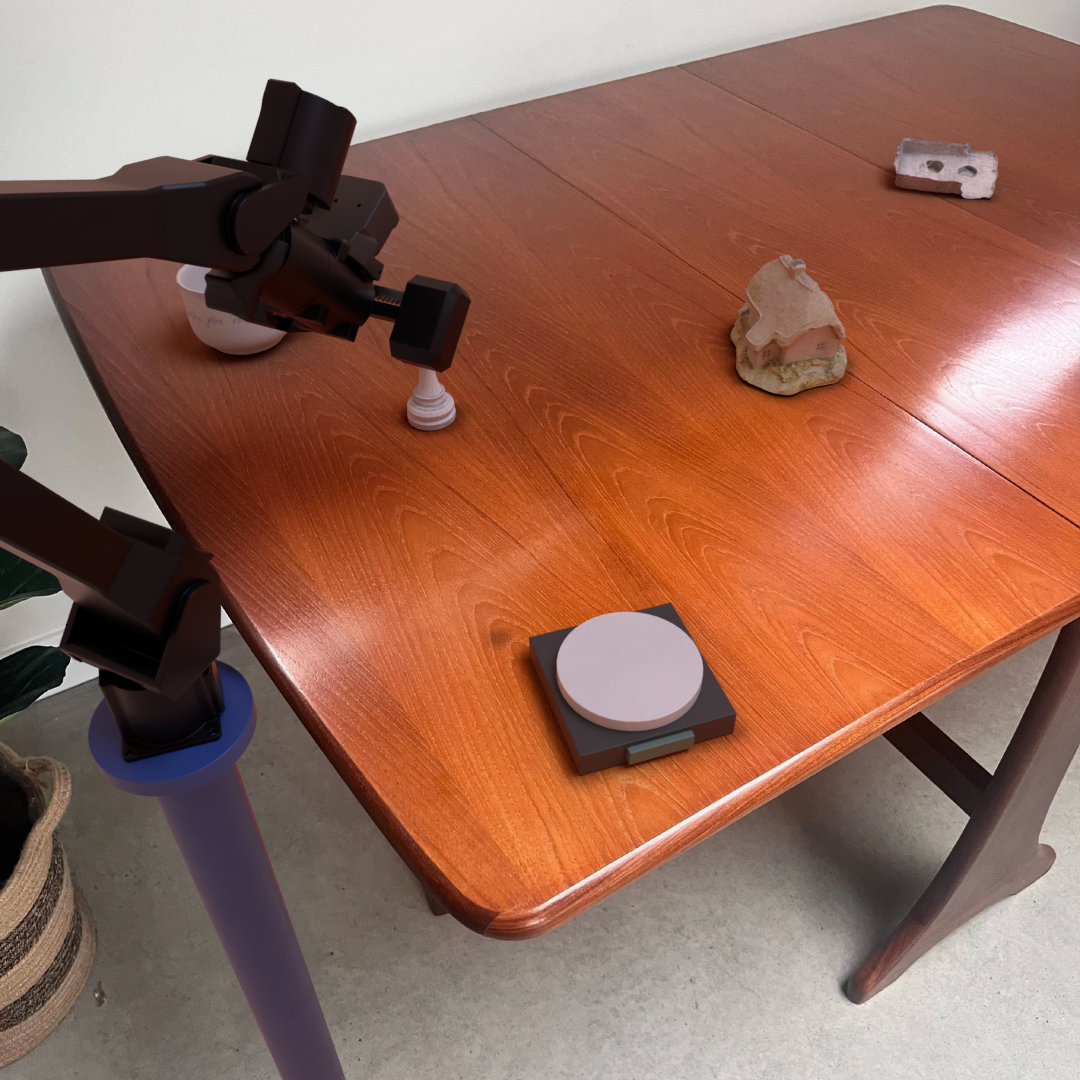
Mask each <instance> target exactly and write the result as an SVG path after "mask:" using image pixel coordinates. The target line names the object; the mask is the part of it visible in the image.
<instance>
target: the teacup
mask: <svg viewBox="0 0 1080 1080" xmlns="http://www.w3.org/2000/svg"><path fill="white" fill-rule="evenodd" d="M210 270H211V268H205V267H199V266H193V265H188V264H183V266H182V267H181V268H179V269H178V270H177V273H176V276H175V282H176V285H177V286H178V287H179V290H180V295H181V299H182V302H183V305H184V309H185V312H186V316H187V319H188V321H189V324H190V327H191V329H192V331H193V333H194V334H195V336H196V337H197V338H198V339H199V340H200V341H201V342H203V344H204V345H207V346H209V347H211V348H214V349H216V350H218V351H220V352H222V353H224V354H228V355H252V354H258V353H260V352H263V351H267V350H269V349H271V348H272V347H273V348H274V346H276V345H277V344H279V342H280V341H282V339H283V338H284V337H285V336H286V335H287V333H288V332H284V331H280V330H276V329H272V328H268V327H264V326H260V325H257V324H253V323H249V322H246V321H244V320H242V319H240V318H238V317H236V316H234V315H233V314H229V313H225V312H221V311H217V310H214V309H210V308H208V307H207V306H206V304H205V297H204V291H205V288H206V282H205V279H204V276H205V274H206V273H208V272H210Z"/></svg>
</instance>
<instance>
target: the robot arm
mask: <svg viewBox="0 0 1080 1080" xmlns="http://www.w3.org/2000/svg"><path fill="white" fill-rule="evenodd" d="M357 123H358V120H357V117H356V116H355V115H354V114H353V113H352V112H351V110H349V109H348V108H347V107H346V106H342V105H337V104H336V103H333V102H332V101H330V100H328V99H326V98H324V97H322V96H320V95H318V94H314V93H312V92H309V91H307V90H303V88H302V87H300V86H299V85H298V84H297V83H296V82H295V81H290V80H284V79H283V80H282V79H276V78H269V79H267V80H266V84H265V88H264V91H263V95H262V98H261V105H260V111H259V114H258V118H257V121H256V124H255V128H254V131H253V134H252V136H251V140H250V143H249V147H248V150H247V153H246V156H245V160H244V159H243V160H242V159H238V158H232V157H227V156H222V155H218V154H211V153H209V154H206V155H203V156H200V157H197V158H194V159H191V160H190V159H185V158H180V157H176V156H171V155H159V156H156V157H152V158H148V159H143V160H140V161H135V162H132V163H127V164H123V165H122V166H121V167H120V168H119V169H118V170H117V171H116V172H114V173H113V174H111V175H107V176H104V177H99V178H95V179H92V178H90V179H17V180H16V179H13V180H12V179H11V180H10V179H9V180H8V179H7V180H6V179H5V180H4V179H3V180H0V273H5V272H6V273H7V272H14V271H16V272H17V271H26V270H36V269H46V268H56V267H57V268H58V267H65V266H66V267H67V266H75V265H77V266H78V265H87V264H97V263H107V262H115V261H126V260H127V261H128V260H136V259H153V260H159V261H160V260H161V261H166V262H172V263H177V264H182V265H185V264H188V265H193V266H199V267H205V268H211V270H210V272H208V273H206V274H205V276H204V279H205V282H206V288H205V291H204V297H205V304H206V306H207V307H208V308H210V309H214V310H217V311H221V312H225V313H229V314H233V315H234V316H236V317H238V318H240V319H242V320H244V321H246V322H249V323H253V324H257V325H260V326H264V327H268V328H272V329H276V330H280V331H284V332H287V333H288V334H295V333H315V334H318V335H319V334H320V335H324V336H328V337H331V338H335V339H339V340H342V341H346V342H351V343H355V342H356V338H357V335H358V332H359V328H361V327H363V326H364V325H365V323H366V322H367V321H368V319H369V318H374V319H377V320H381V321H386V322H388V323H389V322H390V323H394V324H393V327H392V329H391V333H390V336H389V338H388V344H389V352H390V356H391V357H392V358H393V359H395V360H397V361H398V362H399V361H400V362H401V363H403V364H407V365H410V366H413V367H417V368H419V367H421V368H425V369H428V370H432V371H435V373H439V374H443V373H444V372H445V371H447V370H448V369H450V368H451V367H452V363H453V360H454V358H455V354H456V352H457V351H456V350H457V348H458V344H459V341H460V338H461V336H462V332H463V328H464V325H465V322H466V318H467V315H468V312H469V309H470V306H471V303H472V300H471V298H470V295H469V293H468V292H467V291H466V290H465V289H464V288H463V287H462V286H461V285H459V284H458V283H457V282H451V281H448V280H443V279H439V278H435V277H430V276H426V275H422V274H415V275H414V276H413V277H411V278H410V279H409V280H407V282H406V285H405V287H404V290H399V289H394V288H392V287H391V288H390V287H386V286H382V285H378V284H374V281H375V282H379V281H380V280H381V278H382V274H383V271H384V268H385V264H384V263H382V262H381V261H380V260H378V259H377V258H375V257H377V256H378V255H379V254H380V253H381V251H382V249H383V248H384V246H385V244H386V242H387V240H388V239H389V237H390V235H391V233H392V232H393V230H394V229H397V226H398V224H399V223H400V215H399V212H398V210H397V209H396V205H394V202H393V200H392V198H391V195H390V193H389V191H388V189H387V187H386V185H385V184H384V183H383V182H381V181H379V180H373V179H369V178H364V177H359V176H353V175H349V174H342V173H343V169H344V166H345V163H346V159H347V156H348V153H349V150H350V147H351V143H352V140H353V137H354V134H355V130H356V127H357ZM0 548H2V549H4V550H6V551H7V552H9V553H11V554H13V555H15V556H18V557H19V558H21V559H23V560H25V561H26V562H28V563H31V564H33V565H35V566H37V567H38V568H40V569H42V570H45V571H47V572H48V573H50V574H52V575H53V576H54V577H55V578H56V579H58V581H59V585H60V587H61V590H62V591H63V593H64V594H65V595H66V597H68V598H69V599H71V600H72V601H73V602H72V604H71V608H70V610H69V613H68V615H67V620H66V623H65V626H64V628H63V633H62V635H61V638H60V641H59V644H58V645H59V646H58V647H59V650H60V651H61V652H63V653H64V654H66V655H67V656H68V657H69V658H71V659H72V660H73V661H76V662H79V663H84V664H87V665H89V666H91V667H94V668H96V669H97V670H98V686H99V689H100V692H101V693H102V695H103V698H105V700H106V702H107V704H108V706H109V709H110V711H111V713H112V715H113V717H114V720H115V722H116V724H117V726H118V728H119V731H120V733H121V743H122V757H123V759H124V761H125V762H127V763H132V762H136V761H139V760H143V759H147V758H151V757H155V756H159V755H163V754H167V753H171V752H175V751H179V750H183V749H187V748H191V747H195V746H199V745H203V744H207V743H211V742H215V741H218V740H219V739H220V738H221V737H222V727H221V718H220V713H223V712H224V710H225V702H224V694H223V686H222V682H221V679H220V676H219V673H218V670H217V667H216V664H215V661H214V660H215V659H216V660H217V658H218V657H219V656H220V654H221V650H222V649H221V648H222V647H221V646H222V645H221V644H222V643H221V641H222V637H221V636H222V593H221V590H220V588H219V586H220V585H221V584H222V581H221V580H222V579H221V577H220V574H219V572H218V571H217V570H216V569H215V567H214V566H213V565H211V564H209V562H210V561H212V560H213V559H214V556H215V555H214V553H212V552H210V551H207V550H204V549H202V548H198V547H196V546H194V545H193V544H192V543H191V541H190V540H189V539H187V538H186V537H185V536H184V535H183V534H182V533H180V532H178V531H177V530H175V529H172V528H170V527H167V526H163V525H162V524H158V523H155V522H153V521H150V520H147V519H144V518H141V517H138V516H135V515H132V514H130V513H127V512H124V511H121V510H118V509H115V508H112V507H109V506H108V505H105V506H104V507H103V509H102V512H101V515H100V517H99V519H98V518H96V517H95V516H93V515H92V514H90V513H88V512H87V511H86V510H84V509H82V508H81V507H79V506H77V505H76V504H75V503H73V502H72V501H69V500H68V499H66V497H63V496H62V495H60V494H58V493H56V492H55V491H53V490H52V489H51V488H49V487H47V486H45V485H44V484H42V483H41V482H39V481H38V480H36V479H35V478H33V477H31V476H30V475H28V474H26V473H25V472H23V471H22V470H20V469H19V468H17V467H15V466H13V465H12V464H11V463H9V462H8V461H6V460H4V459H2V458H1V457H0ZM213 733H216V734H215V735H212V734H213ZM129 754H132V755H131V756H128V755H129Z"/></svg>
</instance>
